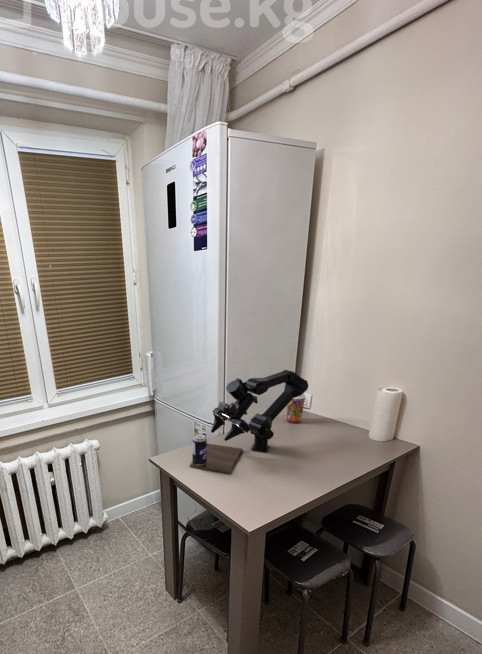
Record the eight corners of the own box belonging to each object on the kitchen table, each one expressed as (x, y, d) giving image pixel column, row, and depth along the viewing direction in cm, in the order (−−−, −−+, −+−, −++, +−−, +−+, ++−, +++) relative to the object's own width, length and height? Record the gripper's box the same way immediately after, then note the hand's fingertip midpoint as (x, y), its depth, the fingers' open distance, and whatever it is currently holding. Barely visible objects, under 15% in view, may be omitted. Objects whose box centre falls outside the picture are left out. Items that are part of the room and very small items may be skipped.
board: (206, 445, 163) (206, 443, 163) (241, 450, 156) (242, 448, 156) (190, 466, 145) (190, 464, 145) (229, 474, 138) (229, 472, 138)
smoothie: (286, 424, 181) (290, 386, 174) (283, 418, 189) (287, 381, 182) (304, 424, 180) (308, 386, 173) (300, 418, 188) (304, 381, 180)
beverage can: (200, 468, 142) (200, 440, 137) (189, 463, 146) (189, 436, 142) (209, 463, 145) (209, 436, 141) (199, 458, 149) (199, 432, 145)
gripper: (216, 389, 148) (193, 418, 148) (245, 400, 132) (220, 434, 132) (231, 403, 154) (209, 432, 154) (261, 416, 138) (236, 448, 138)
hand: (218, 436), depth 144 cm, fingers open, 9 cm apart
